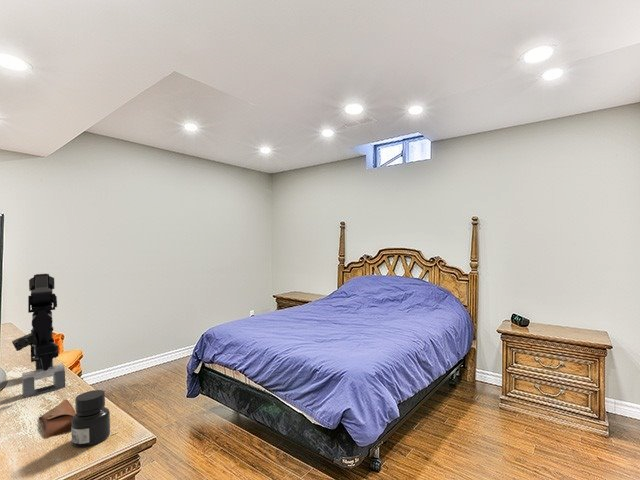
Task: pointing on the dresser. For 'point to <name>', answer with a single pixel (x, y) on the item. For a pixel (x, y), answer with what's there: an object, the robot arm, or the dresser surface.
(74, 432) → the ink bottle
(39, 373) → the rail
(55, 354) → the robot arm
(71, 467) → the dresser surface
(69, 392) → the dresser surface
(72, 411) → the sunglasses case
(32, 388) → the standards
